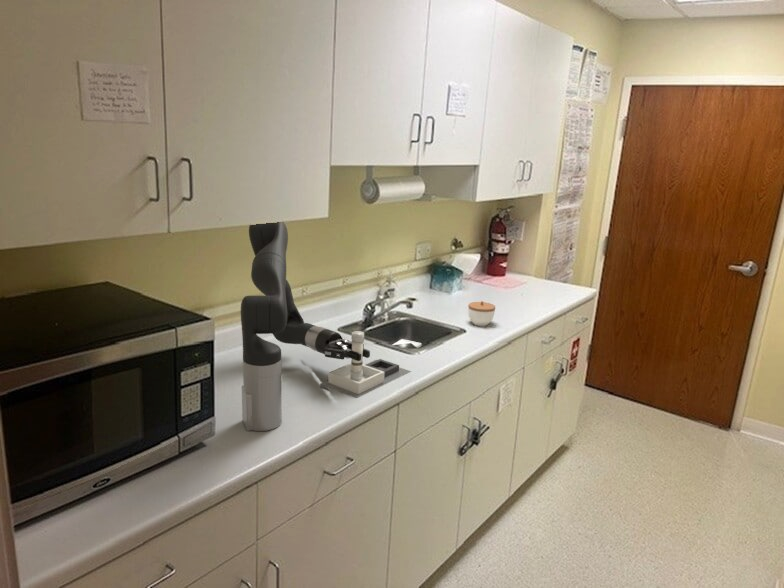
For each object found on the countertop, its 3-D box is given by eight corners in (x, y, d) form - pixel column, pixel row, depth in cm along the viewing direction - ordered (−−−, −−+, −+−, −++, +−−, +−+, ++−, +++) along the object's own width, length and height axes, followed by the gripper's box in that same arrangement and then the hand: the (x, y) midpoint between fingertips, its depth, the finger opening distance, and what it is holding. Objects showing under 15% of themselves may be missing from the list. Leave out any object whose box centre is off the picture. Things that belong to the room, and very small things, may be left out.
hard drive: (406, 353, 196) (421, 342, 207) (384, 348, 200) (401, 338, 211) (406, 357, 197) (421, 347, 208) (384, 353, 200) (400, 342, 211)
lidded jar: (474, 328, 229) (476, 305, 227) (462, 320, 239) (464, 298, 236) (498, 327, 233) (500, 304, 230) (485, 319, 242) (487, 297, 240)
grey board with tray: (356, 401, 161) (357, 387, 160) (320, 387, 169) (320, 373, 168) (411, 374, 181) (411, 361, 180) (376, 363, 189) (376, 350, 188)
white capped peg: (352, 381, 168) (354, 335, 165) (348, 376, 172) (349, 331, 168) (364, 379, 170) (366, 334, 166) (359, 375, 173) (361, 330, 169)
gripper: (306, 334, 171) (347, 349, 161) (340, 324, 182) (381, 338, 171) (305, 357, 173) (347, 374, 163) (339, 346, 184) (380, 362, 173)
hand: (364, 355), depth 167 cm, fingers closed on white capped peg, 3 cm apart
